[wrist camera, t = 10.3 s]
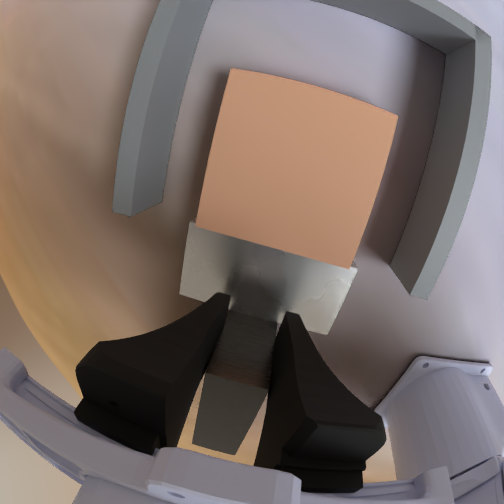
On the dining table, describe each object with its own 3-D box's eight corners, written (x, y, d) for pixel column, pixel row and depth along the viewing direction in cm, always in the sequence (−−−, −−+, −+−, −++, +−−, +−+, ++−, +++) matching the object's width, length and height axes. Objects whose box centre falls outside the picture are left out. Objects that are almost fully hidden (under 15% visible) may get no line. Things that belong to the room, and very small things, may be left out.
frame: (461, 49, 8) (490, 36, 5) (404, 270, 13) (426, 300, 10) (204, -24, 8) (186, -52, 5) (145, 197, 13) (112, 211, 10)
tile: (383, 120, 11) (398, 115, 9) (342, 253, 13) (349, 269, 12) (240, 79, 11) (231, 68, 9) (208, 215, 14) (195, 226, 12)
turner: (286, 397, 17) (280, 463, 12) (176, 367, 17) (146, 427, 12) (353, 260, 13) (384, 327, 8) (196, 216, 13) (141, 260, 8)
